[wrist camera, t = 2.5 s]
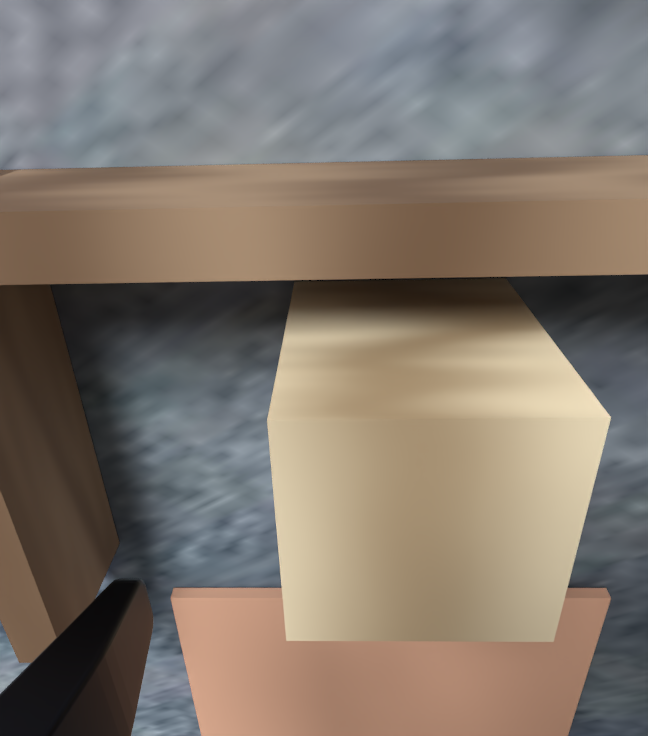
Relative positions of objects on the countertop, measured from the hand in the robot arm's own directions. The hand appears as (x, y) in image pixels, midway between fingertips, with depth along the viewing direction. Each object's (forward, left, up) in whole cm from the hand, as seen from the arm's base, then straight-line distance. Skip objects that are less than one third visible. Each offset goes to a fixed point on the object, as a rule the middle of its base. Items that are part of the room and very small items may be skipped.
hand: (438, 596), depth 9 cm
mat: (0, +15, -7) cm, 17 cm away
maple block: (0, 0, -7) cm, 7 cm away
